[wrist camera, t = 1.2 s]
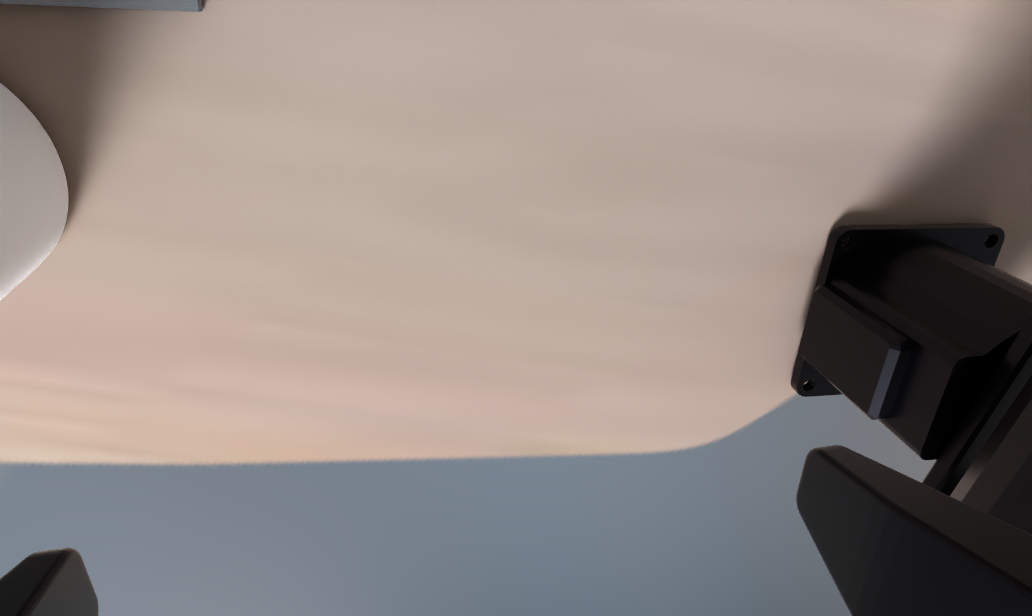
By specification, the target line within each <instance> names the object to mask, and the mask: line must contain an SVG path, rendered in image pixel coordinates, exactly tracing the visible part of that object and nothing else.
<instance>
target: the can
mask: <svg viewBox="0 0 1032 616" xmlns="http://www.w3.org/2000/svg"><path fill="white" fill-rule="evenodd" d="M67 214H68V187H67V181H66V176H65V172H64V169H63V166H62V163H61V160H60V158H59V155H58V153H57V151H56V149H55V147H54V145H53V143H52V141H51V139H50V138H49V136H48V134H47V133H46V131H45V130H44V128H43V127H42V125H41V124H40V122H39V121H38V120H37V119H36V117H35V116H34V115H33V114H32V113H31V111H30V110H29V109H28V108H27V107H26V106H25V105H24V104H23V103H22V102H21V101H20V100H19V99H18V98H17V97H16V96H15V95H14V94H13V93H12V92H11V91H9V90H8V89H7V88H6V87H5V86H3V85H2V84H1V83H0V300H1V299H2V298H3V297H5V296H6V295H7V294H8V293H9V292H10V291H11V290H13V289H14V288H15V287H16V286H17V285H18V284H19V283H20V282H22V281H23V280H24V279H25V278H26V277H27V276H28V275H29V274H30V273H31V272H33V271H34V270H35V269H36V268H37V267H38V266H39V265H40V264H41V263H42V262H43V261H44V260H45V258H46V257H47V256H48V255H49V254H50V253H51V251H52V250H53V249H54V247H55V246H56V244H57V243H58V241H59V239H60V237H61V235H62V233H63V230H64V227H65V224H66V220H67Z"/></svg>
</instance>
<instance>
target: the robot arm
mask: <svg viewBox="0 0 1032 616" xmlns="http://www.w3.org/2000/svg"><path fill="white" fill-rule="evenodd" d="M848 237H849V240H848V242H847V243H846V244H845V245H844V246H842V243H843V241H844V240H845V239H846V238H848ZM987 237H988V239H987ZM1004 237H1005V235H1004V231H1003V230H1002V229H1001V228H999V227H996V226H994V225H991V224H921V225H852V226H841V227H839V228H837V229H836V230H834V231H833V233H832V234H831V235H830V237H829V239H828V243H827V247H826V250H825V254H824V258H823V262H822V265H821V269H820V273H819V277H818V280H817V284H816V288H815V291H814V294H813V298H812V301H811V305H810V309H809V313H808V317H807V320H806V324H805V328H804V332H803V335H802V339H801V343H800V347H799V352H798V356H797V360H796V363H795V367H794V371H793V375H792V378H791V386H792V388H793V389H794V390H795V391H796V392H797V393H798V394H799V395H801V396H805V397H807V396H823V395H839V394H843V395H844V396H845V397H846V398H848V399H849V400H850V401H851V402H852V403H853V404H854V405H856V407H858V408H859V409H860V410H861V411H862V412H863V413H864V414H865V415H866V416H867V417H869V418H870V419H872V420H879V421H880V422H881V423H882V424H884V425H885V426H886V427H887V428H888V429H889V430H890V431H891V432H892V433H894V434H895V435H896V436H897V437H898V438H899V439H900V440H901V441H902V442H904V443H905V444H906V445H907V446H908V447H909V448H910V449H911V450H912V451H914V452H915V453H916V454H917V455H918V456H919V457H920V458H921V459H923V460H934V459H937V460H936V461H935V463H934V464H933V466H932V468H931V469H930V471H929V472H928V474H927V475H926V477H925V478H924V480H923V482H922V483H920V482H918V481H916V480H914V479H912V478H910V477H908V476H906V475H904V474H901V473H899V472H897V471H895V470H893V469H891V468H889V467H886V466H884V465H882V464H880V463H878V462H876V461H874V460H872V459H869V458H867V457H865V456H863V455H861V454H859V453H856V452H854V451H852V450H850V449H848V448H846V447H843V446H838V445H836V446H835V445H834V446H827V447H819V448H814V449H812V450H811V451H810V452H809V453H808V454H807V456H806V459H805V464H804V467H803V471H802V475H801V479H800V483H799V487H798V490H797V507H798V510H799V513H800V515H801V517H802V519H803V521H804V523H805V525H806V527H807V529H808V531H809V533H810V535H811V537H812V539H813V541H814V543H815V545H816V547H817V549H818V551H819V553H820V554H821V556H822V559H823V561H824V562H825V564H826V566H827V568H828V570H829V572H830V574H831V576H832V578H833V580H834V582H835V584H836V586H837V588H838V590H839V592H840V594H841V596H842V598H843V600H844V602H845V604H846V605H847V607H848V609H849V611H850V613H851V615H852V616H1032V285H1031V284H1029V283H1027V282H1025V281H1023V280H1020V279H1018V278H1016V277H1014V276H1012V275H1010V274H1008V273H1006V272H1004V271H1002V270H1000V269H997V268H995V267H994V265H995V262H996V259H997V257H998V254H999V252H1000V249H1001V246H1002V244H1003V241H1004ZM986 239H987V240H986ZM985 240H986V241H985ZM807 380H809V381H808V382H807V383H806V384H804V383H805V382H806V381H807ZM0 616H98V600H97V596H96V593H95V592H94V588H93V586H92V583H91V581H90V578H89V575H88V573H87V570H86V567H85V565H84V562H83V560H82V557H81V555H80V554H79V552H78V551H77V550H75V549H72V548H63V549H56V550H48V551H41V552H37V553H33V554H31V555H29V556H28V557H26V558H25V559H24V560H22V561H21V562H20V563H19V564H18V565H16V566H15V567H14V568H13V569H12V570H10V571H9V572H8V573H7V574H6V575H4V576H3V577H2V578H1V579H0Z"/></svg>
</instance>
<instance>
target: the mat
mask: <svg viewBox="0 0 1032 616" xmlns="http://www.w3.org/2000/svg"><path fill="white" fill-rule="evenodd" d="M0 4H25V5H49V6H73V7H97V8H121V9H145V10H169V11H193V12H200V11H203V10H202V3H201V0H0Z"/></svg>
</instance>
